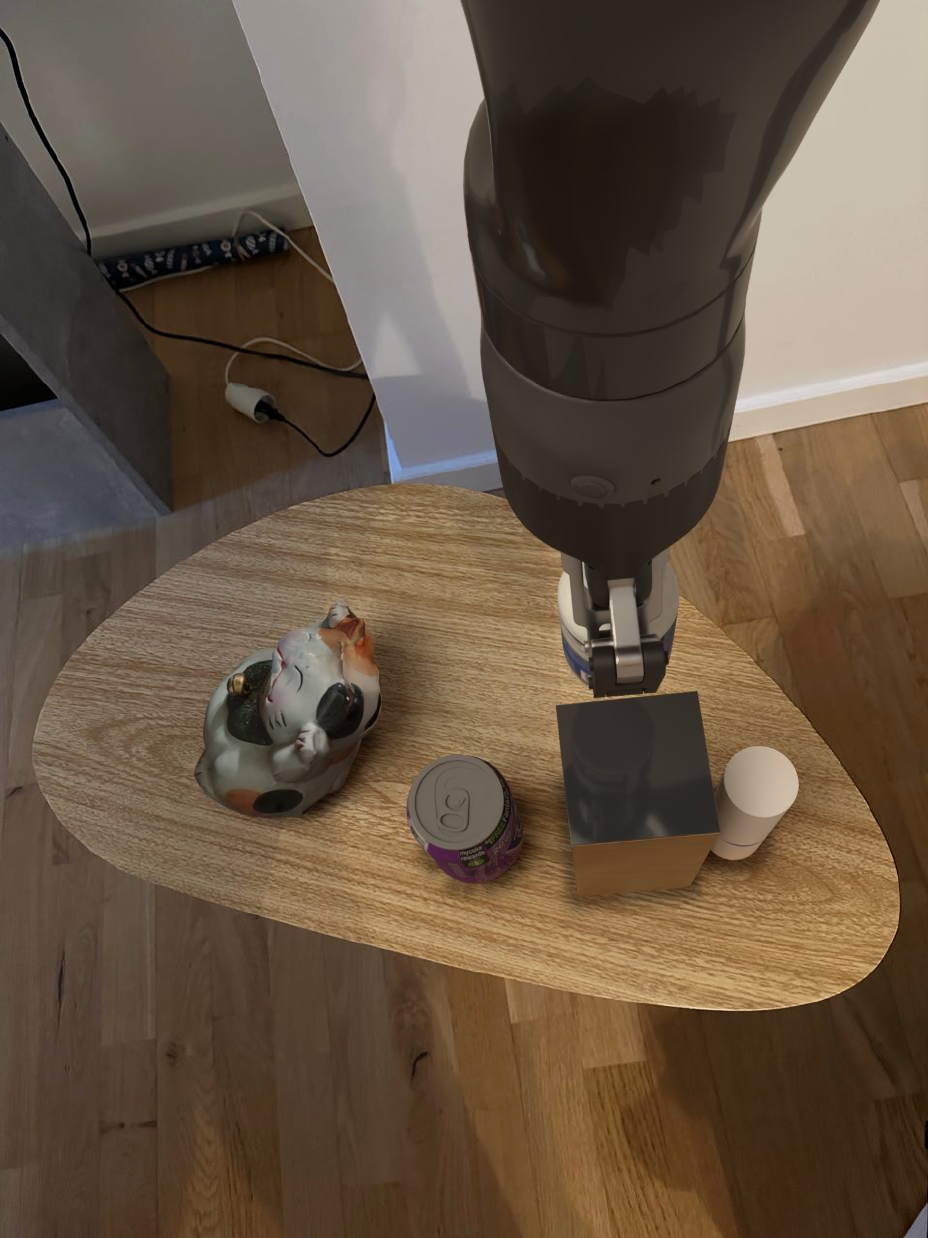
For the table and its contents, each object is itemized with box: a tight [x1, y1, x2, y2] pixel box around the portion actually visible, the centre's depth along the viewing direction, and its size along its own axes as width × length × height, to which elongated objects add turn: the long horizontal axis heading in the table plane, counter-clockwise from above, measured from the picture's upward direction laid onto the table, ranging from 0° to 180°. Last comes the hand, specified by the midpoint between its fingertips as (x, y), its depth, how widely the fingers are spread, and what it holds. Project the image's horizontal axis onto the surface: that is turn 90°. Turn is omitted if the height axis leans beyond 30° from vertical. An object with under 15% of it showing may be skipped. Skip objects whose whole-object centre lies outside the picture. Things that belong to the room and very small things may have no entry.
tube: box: [710, 745, 800, 861], centre depth 68 cm, size 4×4×15 cm
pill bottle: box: [556, 560, 680, 691], centre depth 48 cm, size 5×5×10 cm
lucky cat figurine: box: [193, 598, 383, 819], centre depth 76 cm, size 15×12×14 cm
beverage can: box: [405, 753, 524, 884], centre depth 72 cm, size 7×7×12 cm
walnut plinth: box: [570, 834, 719, 898], centre depth 67 cm, size 8×8×20 cm
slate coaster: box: [555, 690, 720, 848], centre depth 57 cm, size 8×8×1 cm
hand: (608, 606), depth 47 cm, fingers closed on pill bottle, 5 cm apart
